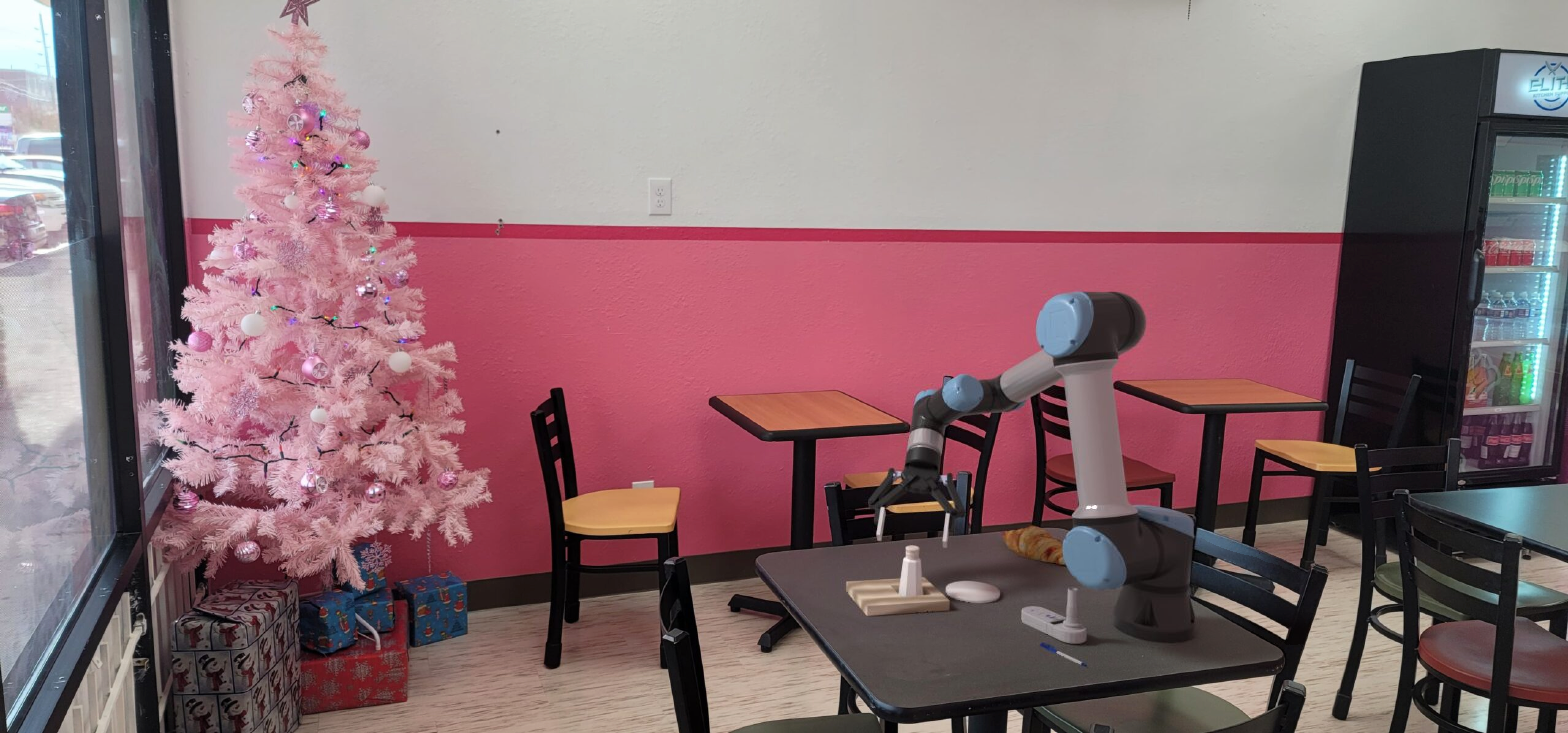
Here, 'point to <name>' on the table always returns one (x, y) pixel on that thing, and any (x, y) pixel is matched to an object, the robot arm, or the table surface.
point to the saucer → (972, 592)
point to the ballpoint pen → (1061, 653)
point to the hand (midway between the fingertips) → (911, 541)
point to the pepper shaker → (911, 573)
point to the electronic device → (1057, 621)
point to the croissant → (1035, 544)
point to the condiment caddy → (894, 597)
